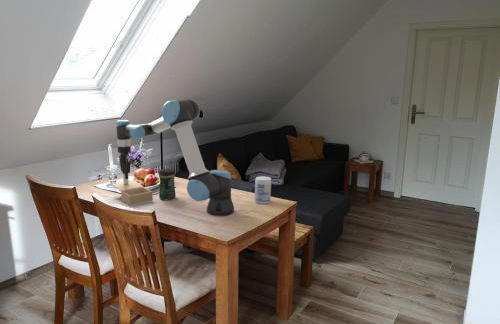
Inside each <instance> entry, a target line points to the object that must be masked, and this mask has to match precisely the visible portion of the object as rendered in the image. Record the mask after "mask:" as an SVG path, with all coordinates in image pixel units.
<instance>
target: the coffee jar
mask: <svg viewBox="0 0 500 324" xmlns="http://www.w3.org/2000/svg"><path fill="white" fill-rule="evenodd" d="M175 176H176V170H175V168H172V167H167V168H162V169H159V171H158V177H159V190H158V192H159V194H158V198H159V199H160V200H162V201H169V200H172V199H175V198H176V197H177V196H176V188H175V187H176V186H175V185H176V184H175Z"/></svg>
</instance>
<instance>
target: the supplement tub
mask: <svg viewBox="0 0 500 324" xmlns="http://www.w3.org/2000/svg"><path fill="white" fill-rule="evenodd" d="M254 183H255V184H254V202H255V203H257V204H259V203H260V205H261V204H262V205H265V204H269V203H271V195H272V193H271V192H272V178H271V177H269V176H264V175H263V176H256V177H255V181H254Z"/></svg>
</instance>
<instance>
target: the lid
mask: <svg viewBox="0 0 500 324" xmlns="http://www.w3.org/2000/svg"><path fill="white" fill-rule="evenodd" d="M112 186H113V187H115V188H116V189H117V190H118V191H120V192H121V191H125V190H130V189H136V188H141V187H144V186H143V185H142V184H140V182H138V181H136V180H129V183H128V184H123V181H122V182H118V183H117V182H116V183H112Z"/></svg>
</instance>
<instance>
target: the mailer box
mask: <svg viewBox="0 0 500 324" xmlns="http://www.w3.org/2000/svg"><path fill="white" fill-rule="evenodd" d="M120 194H121V195H120V196H121V197H120V198H121V202H122V203H125V204H126V205H127V206H130V207H133V206H137V205H141V204H147V203H152V202H153V200H154V199H153V197H154V195H153V191H151V190H150V189H148V188H145V187H144V186H143V187H141V188H136V189H130V190H125V191H120Z"/></svg>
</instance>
